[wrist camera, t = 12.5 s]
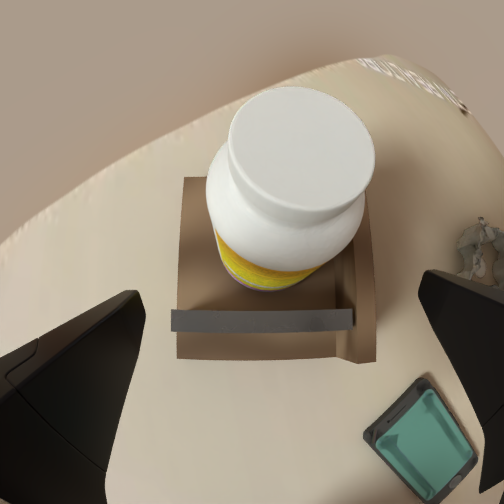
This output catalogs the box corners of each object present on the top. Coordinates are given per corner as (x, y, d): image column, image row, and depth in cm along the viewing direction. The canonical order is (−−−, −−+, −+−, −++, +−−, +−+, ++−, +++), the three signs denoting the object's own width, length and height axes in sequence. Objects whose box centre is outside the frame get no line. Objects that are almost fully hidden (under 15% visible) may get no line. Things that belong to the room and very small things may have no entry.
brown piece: (343, 353, 22) (376, 361, 16) (182, 355, 21) (162, 366, 15) (334, 191, 25) (359, 155, 19) (188, 188, 24) (174, 149, 18)
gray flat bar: (332, 328, 20) (352, 329, 16) (183, 329, 20) (170, 331, 16) (331, 311, 20) (352, 308, 16) (184, 311, 20) (171, 309, 16)
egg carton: (453, 223, 25) (479, 209, 21) (499, 242, 25) (524, 232, 21) (445, 334, 22) (474, 333, 18) (494, 341, 22) (521, 340, 18)
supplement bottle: (322, 285, 21) (428, 234, 8) (225, 299, 20) (205, 265, 8) (304, 194, 22) (366, 69, 10) (213, 205, 22) (189, 74, 9)
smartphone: (433, 511, 17) (364, 438, 19) (427, 506, 18) (358, 433, 20) (482, 459, 18) (428, 374, 20) (475, 456, 20) (420, 372, 22)
